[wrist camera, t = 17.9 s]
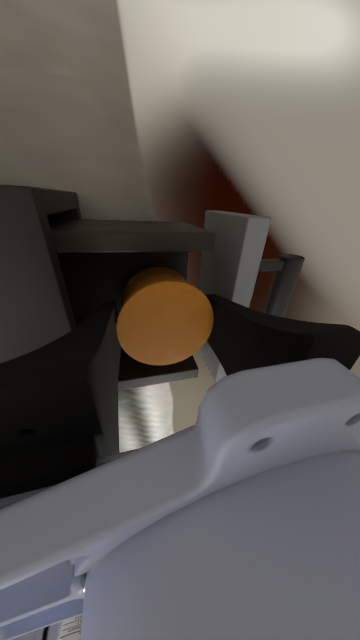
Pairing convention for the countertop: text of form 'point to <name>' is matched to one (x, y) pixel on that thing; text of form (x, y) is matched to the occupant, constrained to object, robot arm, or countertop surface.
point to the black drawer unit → (32, 269)
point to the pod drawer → (171, 252)
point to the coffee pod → (163, 317)
